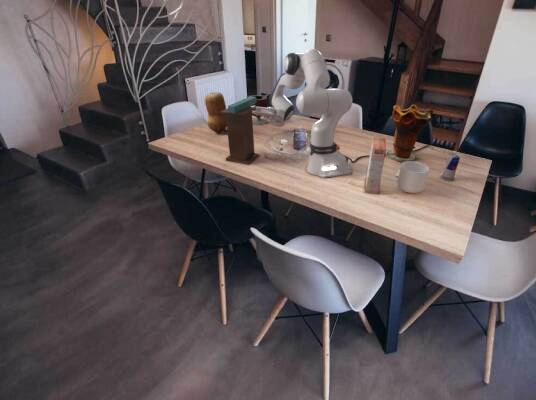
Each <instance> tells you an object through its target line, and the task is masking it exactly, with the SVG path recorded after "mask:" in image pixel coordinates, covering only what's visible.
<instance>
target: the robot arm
mask: <svg viewBox="0 0 536 400" xmlns="http://www.w3.org/2000/svg"><path fill="white" fill-rule="evenodd" d="M283 70H284V72H283V73H282V74H281V75H280V76H279V77H278V79H277V81H276V83H275V85H274V88H273V90H272V91H271V93H270V94H269V95H268V96H269V97H268V104H270V105H271V106H268V108H265V107H257V106H251V107H256V110H254V111H252V113H253V114H255V115H260V116H261V117H263V119H265V120H266V121H267V123H269V124H271V125H272V126H274V127H278V128H280V127H283V126H285V124H286V122H287V121H288V120H290V119H291V118H292V117H293V115H294V114H295V111H296V110H295V106H296V108H297V111H298V112H299V113H300V114H302V115H306V116H307V115H308V116H321V115H322V117H321V118H320V119H319V120H317V121H316V122H314V123H313V125H312V126H311V128H310V141H309V147H308V153H309V157H308V162H307V165H306V171H307V172H308V173H309V174H311V175H313V176H318V177H321V178H322V179H323V178H324V179H326V178H333V177H339V176H346V175H351V173H352V167H351V166H350V165H349V164H348V163H349V161H350V163H356V162H357V161H358V160H360V159H361V158H368V157H369V158H370V154H369V155H361V156H359V157H357V158H356V159H355V160H352V158H350V157H349V156H347V155H345V154H343V153H342V152H340V150H341V146H340V145H338V144H337V142H335V133H336V129H337V125H338V124H339V122H340V120H341V119H342V117H343V116H344V115H346V113H348V112H349V111H350V110H351V108H352V106H353V96H352V94H351V92H350V91H349V90H347V89H343V88H327V87H328V86H329V85H330V82H331V77H330V76H331V75H330V72H329V70H328V66H327V61H326V59H325V58H324V57H323V55H322V53H321V52H320V51H319V50H318V49H316V48H310V49H308V50H306V51H305V52H304V53H302V52H300V53H299V52H298V53H295V52H290V53H287V54H286V56H285V57H284V60H283ZM304 84H305V87H304V88H303V89H302V90H301V91H300V92H299V93H298V94H297V96H296V99H295V105H294V104H293V103H292V102H291V101H290V100H289V99H288V98H287V96H285V94H284V92H283V91H284V89H285V88H288V89H290V90H298V89H300V88H302V86H303V85H304ZM430 145H432V146H435V144H434V143H432V142H430V143H428V144H426V145H424V146H422V147H420V148H416V149H413V150H412V152H411V153H414V152H418V151H420V150H423V149H425V148H427V147H429V146H430ZM393 154H394V153H393ZM390 155H392V154H390ZM385 156H387V154H385Z"/></svg>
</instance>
